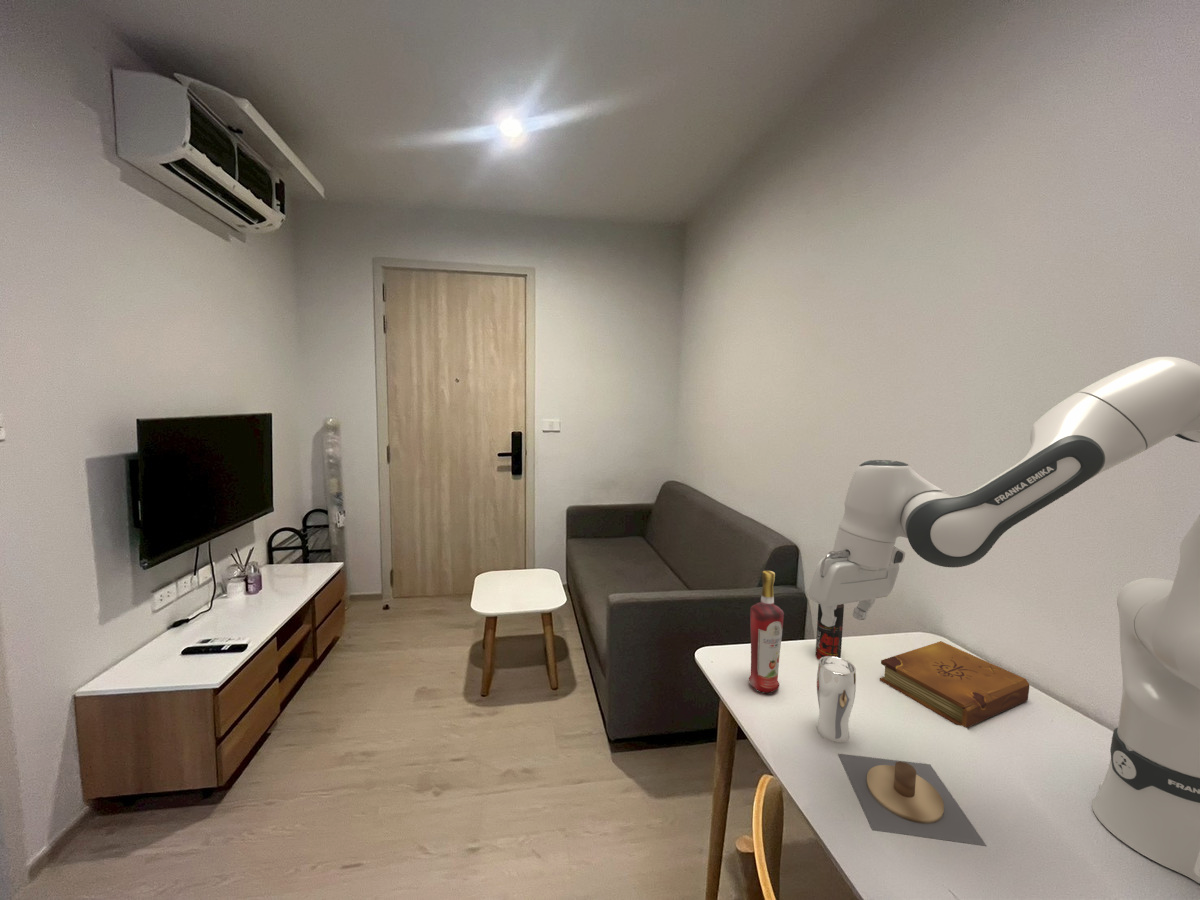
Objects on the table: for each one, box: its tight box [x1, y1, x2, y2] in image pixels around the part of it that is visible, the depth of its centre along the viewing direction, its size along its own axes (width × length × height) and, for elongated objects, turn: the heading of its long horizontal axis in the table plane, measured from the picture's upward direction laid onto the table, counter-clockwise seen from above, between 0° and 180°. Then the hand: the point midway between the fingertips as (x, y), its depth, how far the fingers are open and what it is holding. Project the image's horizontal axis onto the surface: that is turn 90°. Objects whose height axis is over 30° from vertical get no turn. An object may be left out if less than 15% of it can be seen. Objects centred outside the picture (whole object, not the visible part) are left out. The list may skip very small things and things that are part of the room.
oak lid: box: [867, 762, 944, 823], centre depth 79 cm, size 11×11×5 cm
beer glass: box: [816, 656, 857, 744], centre depth 94 cm, size 7×7×15 cm
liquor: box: [748, 570, 785, 694], centre depth 108 cm, size 7×7×28 cm
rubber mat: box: [837, 753, 987, 847], centre depth 79 cm, size 16×16×1 cm
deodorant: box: [815, 603, 845, 660], centre depth 122 cm, size 6×6×15 cm
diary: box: [879, 640, 1030, 729], centre depth 109 cm, size 23×19×6 cm
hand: (843, 621), depth 84 cm, fingers open, 8 cm apart
